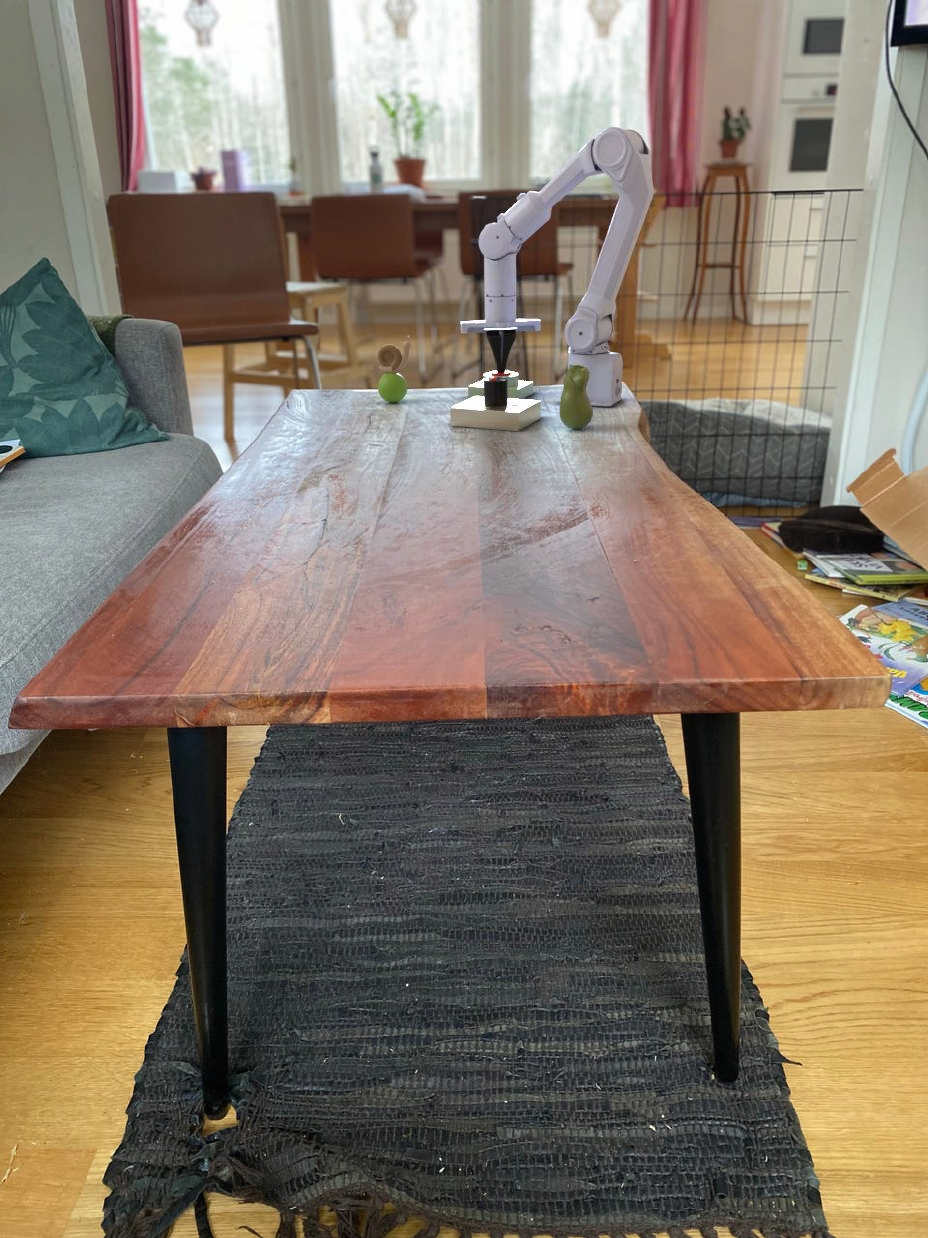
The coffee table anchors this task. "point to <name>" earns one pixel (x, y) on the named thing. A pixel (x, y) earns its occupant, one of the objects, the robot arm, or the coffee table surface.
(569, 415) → the pear
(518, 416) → the panel
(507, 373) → the button
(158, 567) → the coffee table surface
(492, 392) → the stove knob
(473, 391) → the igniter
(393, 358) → the snail figurine
